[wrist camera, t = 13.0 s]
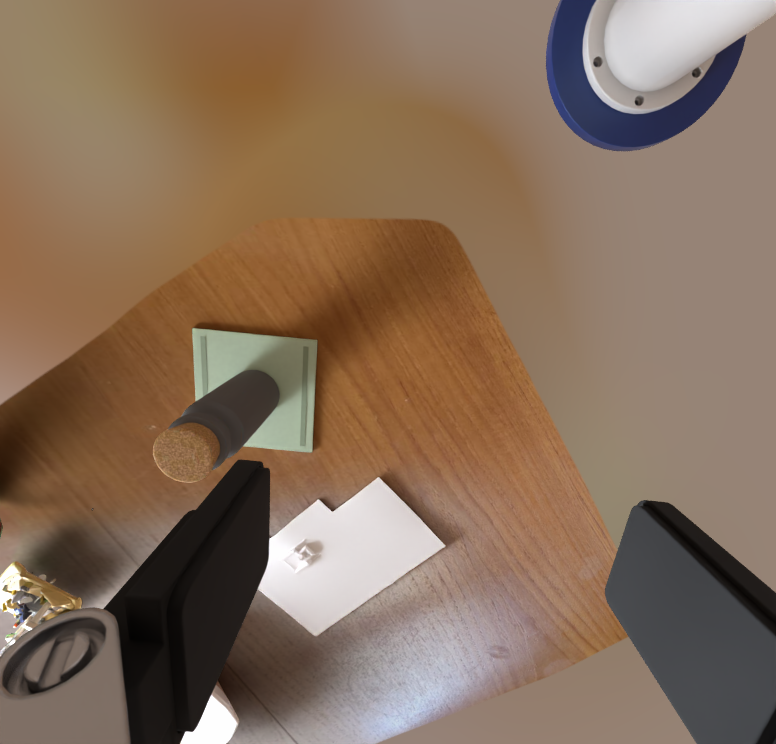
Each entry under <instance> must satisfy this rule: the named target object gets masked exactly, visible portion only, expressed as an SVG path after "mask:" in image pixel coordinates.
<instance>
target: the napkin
mask: <svg viewBox="0 0 776 744" xmlns="http://www.w3.org/2000/svg"><path fill="white" fill-rule="evenodd" d="M192 334H193V354H194V375H195V395H196V401H198V400H199V399H201V398H202V397H204V396H205V395H207V394H208V393H210V392H211V391H213V390H214V389H216V388H217V387H219V386H220V385H222V384H223V383H225V382H227V381H228V380H230V379H231V378H233V377H234V376H236V375H238V374H239V373H241V372H243V371H246V370H259V371H262V372H264V373H266V374H268V375H269V376H271V377H272V378H273V379H274V381H275V382H276V384H277V386H278V388H279V393H280V398H279V402H278V405H277V407H276V408H275V409H274V411H273V412H272V413H271V414H270V416H269V417H268V418H267V419H266V420H265V421H264V423H263V424H262V425H261V426H260V427H259V428H258V429H257V431H256V432H255V433H254V434H253V435H252V436H251V437H250V439H249V440H248V441H247V442H246V443H245V444H244V445H243V446H248V447H258V448H269V449H279V450H289V451H300V452H310V453H312V451H313V429H314V407H315V384H316V362H317V340H312V339H302V338H292V337H282V336H271V335H261V334H251V333H241V332H231V331H221V330H211V329H201V328H192Z"/></svg>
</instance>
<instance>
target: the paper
mask: <svg viewBox="0 0 776 744" xmlns="http://www.w3.org/2000/svg"><path fill="white" fill-rule="evenodd" d="M444 547H445V545H444V544H443V543H442V542H441V541H440V540H439V538H438V537H437V536H436V535H435V534H434V533H433V532H432V531H431V530H430V529H429V528H428V527H427V525H426V524H425V523H424V522H423V521H422V520H421V519H420V518H419V517H418V516H417V515H416V514H415V513H414V512H413V511H412V510H411V509H410V508H409V507H408V506H407V505H406V504H405V503H404V502H403V501H402V500H401V499H400V498H399V497H398V496H397V495H396V494H395V493H394V492H393V491H392V490H391V489H390V488H389V487H388V486H387V485H386V484H385V483H384V482H383V481H382V480H381V479H380V478H379V477H378V478H377V479H375V480H374V481H373V482H372V483H370V484H369V485H368V486H366V487H365V488H364V489H363V490H361V491H360V492H359V493H357V494H356V495H355V496H353V497H352V498H351V499H349V500H348V501H347V502H345V503H344V504H343V505H341V506H340V507H338V508H337V509H336V510H334V511H333V512H332V511H331V510H330V509H329V508H327V507H326V506H325V505H324V504H323V503H322V502H321V501H320V500H319V499H318V500H317V501H316V502H315V503H313V504H312V505H311V506H310V507H308V508H307V509H306V510H305V511H303V512H302V513H301V514H300V515H298V516H297V517H296V518H295V519H294V520H292V521H291V522H290V523H289V524H288V525H286V526H285V527H284V528H283V529H282V530H281V531H279V532H278V533H277V534H276V535H274V536H273V537H272V538H270V539H269V559H268V564H267V568H266V570H265V573H264V575H263V578H262V580H261V582H260V584H259V587H258V590H260V591H261V592H262V593H263V594H264V595H266V596H267V597H268V598H269V599H270V600H272V601H273V602H274V603H275V604H276V605H278V606H279V607H280V608H282V609H283V610H284V611H286V612H287V613H288V614H289V615H290V616H291V617H293V618H294V619H295V620H296V621H297V622H299V623H300V624H301V625H302V626H303V627H304V628H306V629H307V630H308V631H309V632H310V633H312V634H313V635H314V636H315V637H316V636H317V635H319V634H320V633H322V632H323V631H325V630H326V629H327V628H329V627H330V626H332V625H333V624H334V623H336V622H337V621H339V620H340V619H342V618H343V617H344V616H346V615H347V614H349V613H350V612H352V611H353V610H354V609H356V608H357V607H359V606H360V605H361V604H363V603H364V602H366V601H367V600H369V599H370V598H371V597H373V596H374V595H376V594H377V593H379V592H380V591H381V590H383V589H384V588H386V587H387V586H389V585H390V584H392V583H393V582H394V581H396V580H397V579H399V578H400V577H401V576H403V575H404V574H406V573H407V572H409V571H410V570H412V569H413V568H414V567H416V566H417V565H419V564H420V563H422V562H423V561H425V560H426V559H428V558H429V557H430V556H432V555H433V554H435V553H436V552H438V551H439V550H441V549H442V548H444Z"/></svg>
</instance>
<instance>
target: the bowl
mask: <svg viewBox="0 0 776 744" xmlns="http://www.w3.org/2000/svg"><path fill="white" fill-rule="evenodd" d="M238 724H239V718H238V717H237V715H236V713H235V711H234V709H233V707H232V705H231V704H230V702H229V700H228V698H227V697H226V695H225V693H224V691H223V689H222V687H221V686H220V684H219V682H218V681H217V683H216V685H215V688H214V690H213V692H212V695H211V697H210V699H209V702H208V704H207V706H206V708H205V711H204V713H203V715H202V718H201V720H200V722H199V724H198V726H197V728H196V729H195V730H194V731H193V732H185V734H184V736H183V739H182V741H181V743H180V744H227V742H228V741H229V740H230V739H231V738H232V737H233V735H234V733H235V731H236V729H237V727H238Z"/></svg>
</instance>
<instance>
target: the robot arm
mask: <svg viewBox="0 0 776 744" xmlns="http://www.w3.org/2000/svg"><path fill="white" fill-rule="evenodd" d="M775 14H776V0H596V1H595V3H594V5H593V7H592V9H591V12H590V14H589V17H588V20H587V23H586V27H585V32H584V37H583V53H582V54H583V62H584V69H585V72H586V75H587V78H588V81H589V83H590V85H591V87H592V88H593V90H594V92H595V93H596V94H597V95H598V97H599V98H600V99H601V100H602V101H603V102H604V103H606V104H607V105H609V106H610V107H611V108H613V109H616V110H618V111H621V112H624V113H630V114H645V113H650V112H654V111H657V110H660V109H662V108H664V107H666V106H668V105H670V104H672V103H673V102H675V101H677V100H678V99H680V98H681V97H683V96H684V95H685V94H687V93H688V92H689V91H690V90H691V89H692V88H694V87H695V86H696V84H697V83H698V82H699V81H700V80H701V79H702V78H703V76H704V75H705V73H706V72H707V70H708V69H709V67H710V66H711V64H712V62H713V60H714V58H715V56H716V54H717V53H719V52H720V51H722V50H723V49H725V48H726V47H728V46H729V45H731V44H732V43H734V42H735V41H737V40H738V39H739V38H741V37H742V36H744V35H745V34H747V33H748V32H750V31H751V30H753V29H754V28H756V27H757V26H759V25H760V24H762V23H763V22H764V21H766V20H767V19H769V18H770V17H772V16H773V15H775ZM594 65H595V66H594ZM269 518H270V470H269V468H264V467H263V463H262V462H259V461H249V460H238V461H237V462H236V463H235V464H234V465H233V466H232V468H231V469H230V470H229V471H228V472H227V474H226V475H225V476H224V477H223V478H222V479H221V481H220V482H219V483H218V484H217V485H216V487H215V488H214V489H213V490H212V491H211V493H210V494H209V495H208V496H207V497H206V499H205V500H204V501H203V502H202V503H201V505H200V506H199V507H198V508H197V509H196V510H192V511H189V512H188V513H187V514H186V515H184V516H183V518H182V519H181V520H180V521H179V522H178V523H177V525H176V526H175V527H174V528H173V529H172V530H171V532H170V533H169V534H168V535H167V536H166V537H165V538H164V540H163V541H162V542H161V543H160V544H159V545H158V547H157V548H156V549H155V550H154V551H153V552H152V553H151V555H150V556H149V557H148V558H147V559H146V560H145V562H144V563H143V564H142V565H141V566H140V567H139V569H138V570H137V571H136V572H135V573H134V574H133V575H132V577H131V578H130V579H129V580H128V581H127V582H126V584H125V585H124V586H123V587H122V588H121V589H120V590H119V592H118V593H117V594H116V595H115V596H114V597H113V599H112V600H111V601H110V602H109V603H108V604H107V606H106V607H105V608H104V609H99V608H83V609H76V610H73V611H69V612H66V613H63V614H59V615H57V616H55V617H53V618H51V619H49V620H47V621H45V622H42V623H40V624H39V625H37V626H36V627H34V628H33V629H31V630H30V631H28V632H27V633H25V634H24V635H22V636H21V637H20V638H19V639H18V640H16V641H15V642H14V643H13V644H12V645H11V646H10V647H9V648H7V649H6V650H5V651H4V653H3V654H2V655H1V657H0V744H180V743H181V741H182V739H183V736H184V734H185V732H193V731H194V730H195V729H196V728H197V726H198V724H199V722H200V720H201V718H202V715H203V713H204V711H205V708H206V706H207V704H208V702H209V699H210V697H211V695H212V692H213V690H214V688H215V685H216V683H217V681H218V679H219V676H220V674H221V672H222V669H223V667H224V665H225V662H226V660H227V658H228V656H229V653H230V651H231V649H232V646H233V644H234V642H235V640H236V637H237V635H238V633H239V630H240V628H241V626H242V623H243V621H244V619H245V617H246V614H247V612H248V610H249V607H250V605H251V603H252V600H253V598H254V596H255V594H256V591H257V589H258V587H259V584H260V582H261V580H262V578H263V575H264V573H265V570H266V568H267V564H268V559H269ZM605 596H606V600H607V603H608V604H609V606H610V608H611V609H612V611H613V613H614V614H615V616H616V617H617V619H618V620H619V622H620V624H621V625H622V627H623V628H624V630H625V631H626V633H627V635H628V636H629V638H630V639H631V641H632V642H633V644H634V646H635V647H636V649H637V650H638V652H639V653H640V655H641V657H642V658H643V660H644V661H645V663H646V664H647V666H648V668H649V669H650V671H651V672H652V674H653V675H654V677H655V678H656V680H657V682H658V683H659V685H660V687H661V688H662V690H663V691H664V693H665V694H666V696H667V697H668V699H669V701H670V702H671V704H672V705H673V707H674V709H675V710H676V711H677V713H678V715H679V716H680V718H681V719H682V721H683V723H684V724H685V726H686V727H687V729H688V730H689V732H690V734H691V735H692V737H693V738H694V740H695V741H696V743H697V744H776V593H775V592H774V591H773V590H772V589H771V588H769V587H768V586H767V585H766V584H765V583H764V582H762V581H761V580H760V579H759V578H758V577H756V576H755V575H754V574H753V573H752V572H751V571H749V570H748V569H747V568H746V567H745V566H743V565H742V564H741V563H740V562H739V561H738V560H736V559H735V558H734V557H733V556H731V554H729V553H728V552H727V551H726V550H725V549H723V548H722V547H721V546H720V545H719V544H717V543H716V542H715V541H714V540H713V539H712V538H711V537H709V536H708V535H707V534H706V533H704V532H703V531H702V530H701V529H700V528H699V527H698V526H696V525H695V524H694V523H693V522H692V521H690V520H689V519H688V518H687V517H686V516H685V515H683V514H682V513H681V512H680V511H679V510H678V509H676V508H675V507H674V506H673V505H671V504H669V503H665V502H657V501H647V500H644V501H641V502H639V503H638V505H637V506H634V507H633V508H632V510H631V512H630V515H629V518H628V521H627V524H626V527H625V531H624V533H623V536H622V539H621V542H620V546H619V548H618V551H617V554H616V557H615V560H614V563H613V566H612V569H611V572H610V575H609V578H608V581H607V584H606V588H605Z"/></svg>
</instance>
